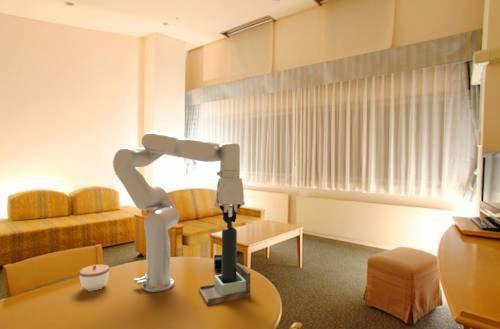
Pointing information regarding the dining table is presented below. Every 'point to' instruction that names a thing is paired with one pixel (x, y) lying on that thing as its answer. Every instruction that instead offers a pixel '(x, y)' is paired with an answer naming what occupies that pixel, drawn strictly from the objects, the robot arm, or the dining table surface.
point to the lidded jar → (94, 276)
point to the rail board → (214, 297)
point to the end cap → (218, 263)
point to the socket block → (230, 285)
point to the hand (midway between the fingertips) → (229, 221)
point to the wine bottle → (229, 251)
